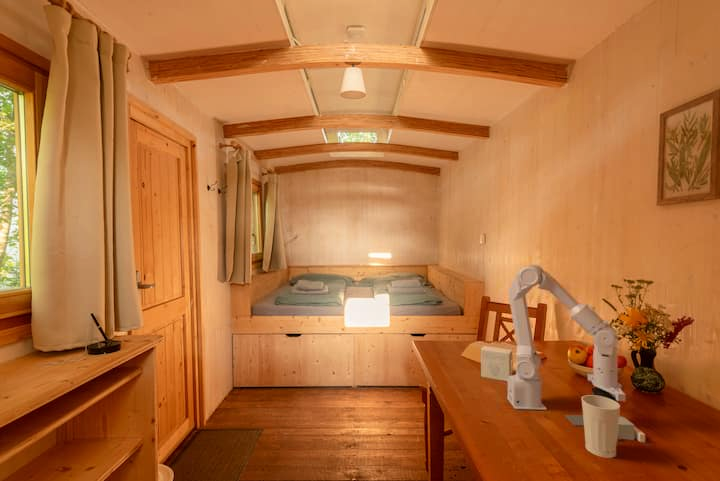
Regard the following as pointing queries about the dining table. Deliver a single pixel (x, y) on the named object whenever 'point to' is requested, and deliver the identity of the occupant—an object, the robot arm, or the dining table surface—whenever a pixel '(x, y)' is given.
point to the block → (625, 429)
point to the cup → (600, 425)
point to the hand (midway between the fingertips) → (605, 415)
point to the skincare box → (496, 363)
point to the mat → (576, 419)
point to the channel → (638, 434)
